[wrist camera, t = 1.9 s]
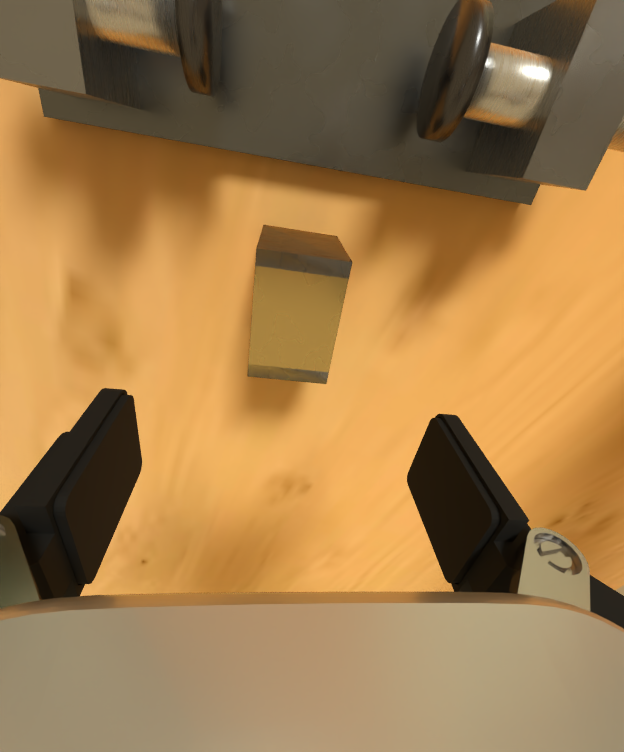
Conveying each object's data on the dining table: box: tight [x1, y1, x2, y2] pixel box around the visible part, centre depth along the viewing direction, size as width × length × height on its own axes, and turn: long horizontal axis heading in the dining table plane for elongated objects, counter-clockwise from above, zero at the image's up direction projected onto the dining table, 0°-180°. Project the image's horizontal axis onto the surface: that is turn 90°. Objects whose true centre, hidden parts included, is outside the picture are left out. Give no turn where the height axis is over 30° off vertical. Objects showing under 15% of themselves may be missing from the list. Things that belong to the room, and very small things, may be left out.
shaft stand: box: [0, 0, 624, 205], centre depth 15 cm, size 28×8×7 cm, turn 81°
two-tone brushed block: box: [248, 225, 352, 384], centre depth 21 cm, size 7×4×6 cm, turn 171°
